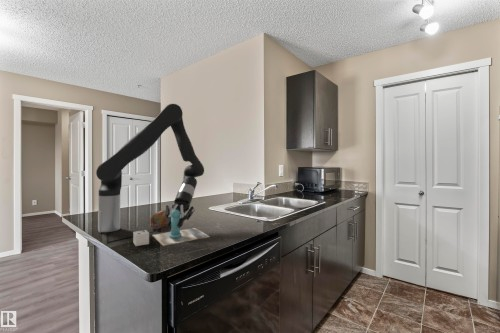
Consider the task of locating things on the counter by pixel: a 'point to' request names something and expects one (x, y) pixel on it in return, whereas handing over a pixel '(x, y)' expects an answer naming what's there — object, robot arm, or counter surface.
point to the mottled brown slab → (158, 220)
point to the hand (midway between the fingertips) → (173, 226)
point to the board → (185, 236)
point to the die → (141, 237)
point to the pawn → (175, 224)
